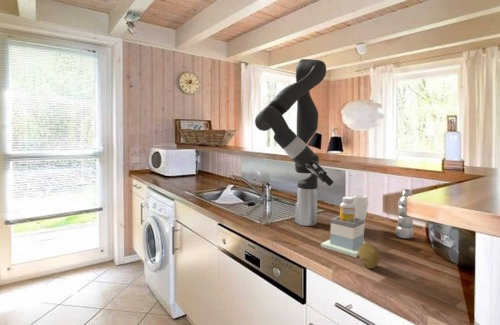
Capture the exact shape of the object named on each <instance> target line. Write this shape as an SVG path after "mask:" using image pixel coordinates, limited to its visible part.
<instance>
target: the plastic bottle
mask: <svg viewBox="0 0 500 325" xmlns="http://www.w3.org/2000/svg"><path fill="white" fill-rule="evenodd" d="M410 195H411V196H412V195H413V190H412V189H402V190H401V197H399V199H398V201H397V208H398V209H397V210H398V213H397V214H398V219H397V225H396V228H395V235H396V236H397V237H398V238H401V239H407V240H408V239H411V238H413V236H414V223H413V220H414V219H413V218H414V217H413V218H410V217H407V216H406V197H408V196H410Z"/></svg>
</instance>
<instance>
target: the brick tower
mask: <svg viewBox="0 0 500 325" xmlns="http://www.w3.org/2000/svg"><path fill="white" fill-rule="evenodd" d="M364 221H365V222H366V218H365V219H361V218H356V217H355V222H354V223H350V222H345V221H341V220H340V215H338V216H336V217H333V218H330V232H329V233H330V234H329V238H330V239H328V240H325V241H324V242H321V243H320V248H323V249H328V250H330V251H334V252H336V253H337V252H338V253H341V254H344V255H347V256H351V257H353V258H357V257H359V250H360V248H361V246H362V245H363V244H364V243H365V242H366V241H365V239H364V236H365V227H364Z"/></svg>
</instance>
